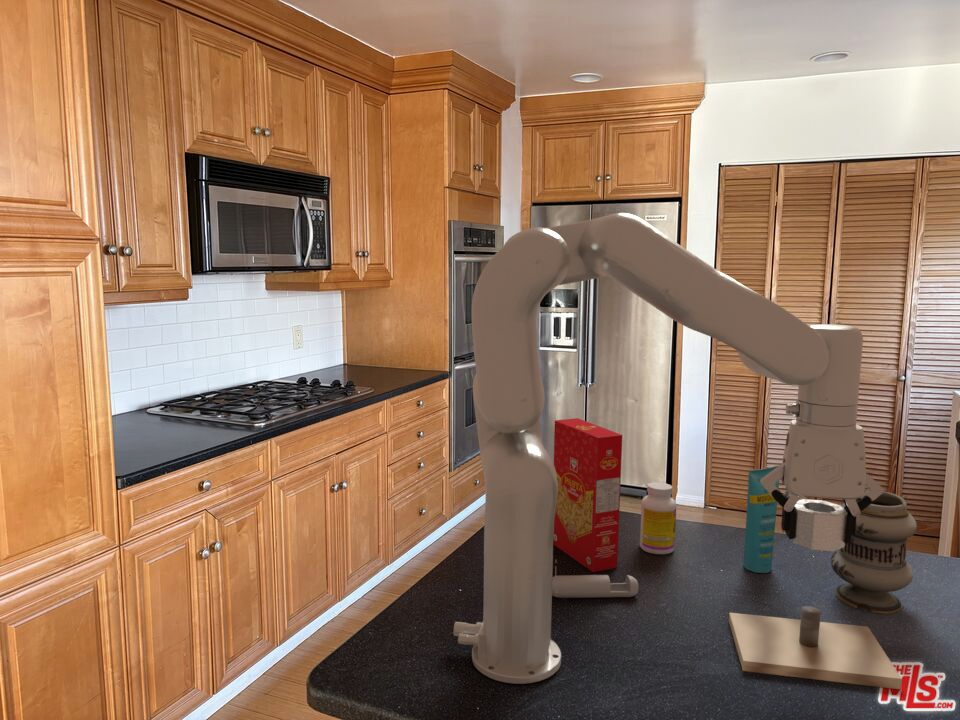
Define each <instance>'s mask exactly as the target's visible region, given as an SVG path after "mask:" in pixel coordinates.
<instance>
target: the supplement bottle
mask: <svg viewBox="0 0 960 720" xmlns="http://www.w3.org/2000/svg"><path fill="white" fill-rule="evenodd" d="M646 491H647V495H645V496H644V497H643V498H642V500H641V509H640V510H641V511H640V527H639V529H640V531H639V546H640V549H642V551H644V552H647V553H648V554H653V555H661V556H662V555H668V554H671V553H673V552H674V550H675V544H676V521H677V502H676V500H675V499H674V498H673V497H671V495H672V494H673V485H671V484H668V483H665V482H660V481H658V482H657V481H656V482H655V481H654V482H649V483H648V484H647V488H646Z"/></svg>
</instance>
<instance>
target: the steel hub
mask: <svg viewBox="0 0 960 720" xmlns="http://www.w3.org/2000/svg"><path fill="white" fill-rule="evenodd" d="M794 511H795V512H796V529H795V538H793V539H791V540H792V543H793V544H796V545H798V546H802V547H804V548H807V549H810V550H812V551H825V552H835V551H837V550H838V549H841V548H843V547H844V546H845V533H846V521H847V512H846V510H845V509H844V508H843V507H842V506H841V505H840V504H836V503H832V502H830V501H827V500H820V499H805V498H802V499H799V500H798V501H797V503H796V505H795V506H794Z"/></svg>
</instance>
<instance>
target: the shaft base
mask: <svg viewBox="0 0 960 720" xmlns="http://www.w3.org/2000/svg"><path fill="white" fill-rule="evenodd" d="M800 611H801V612H800V614H801V615H800V619H795V618H787V617H786V618H785V617H777V616H766V615H758V614H748V613H737V612H729V613H728V614H729V616H728V623H729V627H730V631H731V634H732V637H733V641H734V644H735V648H736V652H737V655H738V660H739V662H740V666H741V670H742V672H749V673H758V674H765V675H767V674H768V675H775V676H784V677H793V678H801V679H811V680H819V681H826V682H834V683H842V684H843V683H844V684H851V685H861V686H870V687H879V688H885V689H894V690H895V689H896V690H901V689H902V682H903V678H902V677H901V675H900V673H899V672H898V671H897V669H896V668H895V666H894V664H893V663H892V662H891V660H890V658H889V657H888V656H887V653H886V652H885V650H884V649H883V647H882V646H881V644H880V643H879V641H878V640H877V638H876V637H875V635H874V633H872V631H871V629H870V628H869V627H868V626H865V625H856V624H846V623H835V622H826V621H821V610H820V609H818V608H816V607H815V606H809V605H806V606H805V605H804V606H802V607H801V609H800Z"/></svg>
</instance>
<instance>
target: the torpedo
mask: <svg viewBox="0 0 960 720" xmlns="http://www.w3.org/2000/svg"><path fill="white" fill-rule="evenodd" d="M555 562H557V559H555ZM554 572H555V573H554V574H555V575H554V576H552V597H553V596H554V597H553V598H558V599H570V598H571V599H574V598H575V599H576V598H577V599H579V598H582V599H583V598H585V599H589V598H590V599H592V598H594V599H596V598H597V599H600V598H602V599H603V598H632V597H635V596H636V595H637V594H638V592H639V582H638V580H637V579H636V578H635V577H634V576H632V575H629V574H627V575H626V576H625V582H613V583H612V582H611V579H610V576H609V575H608V574H582V575H581V574H580V575H579V574H578V575H577V574H576V575H557V567H555V571H554Z"/></svg>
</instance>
